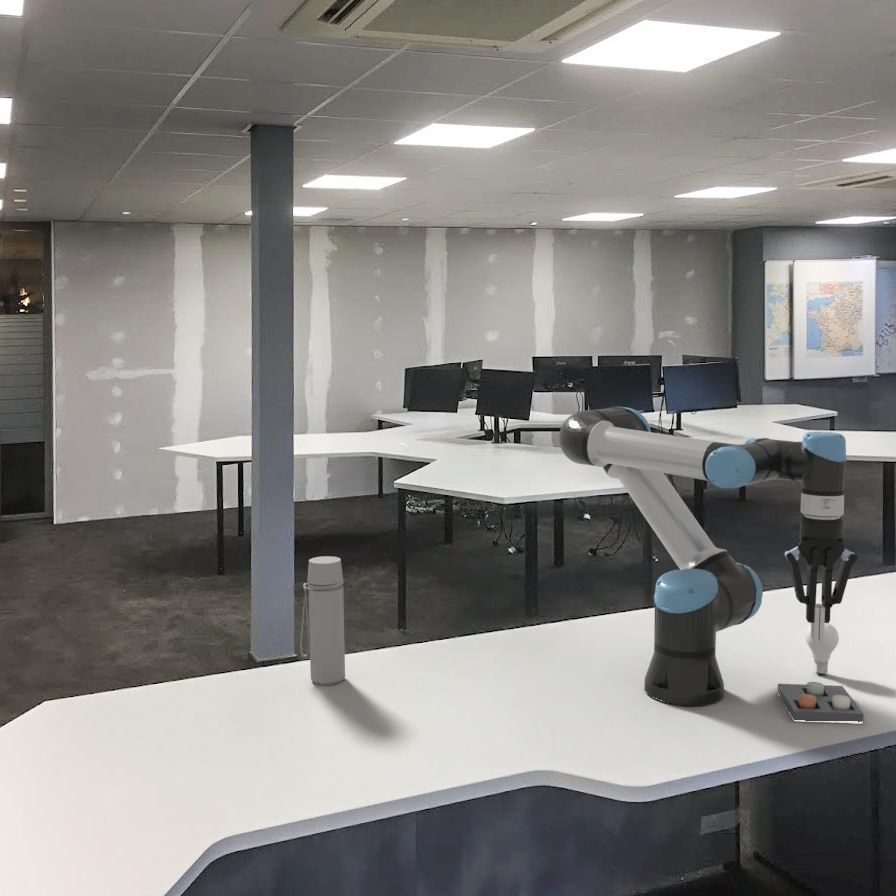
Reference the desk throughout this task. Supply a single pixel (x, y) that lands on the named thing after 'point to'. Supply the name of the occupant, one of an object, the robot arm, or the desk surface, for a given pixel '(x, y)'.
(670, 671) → the robot arm
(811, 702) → the rust button
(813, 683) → the sage button
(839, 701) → the cream button
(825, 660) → the lightbulb
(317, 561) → the water bottle
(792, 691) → the panel
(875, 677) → the desk surface
